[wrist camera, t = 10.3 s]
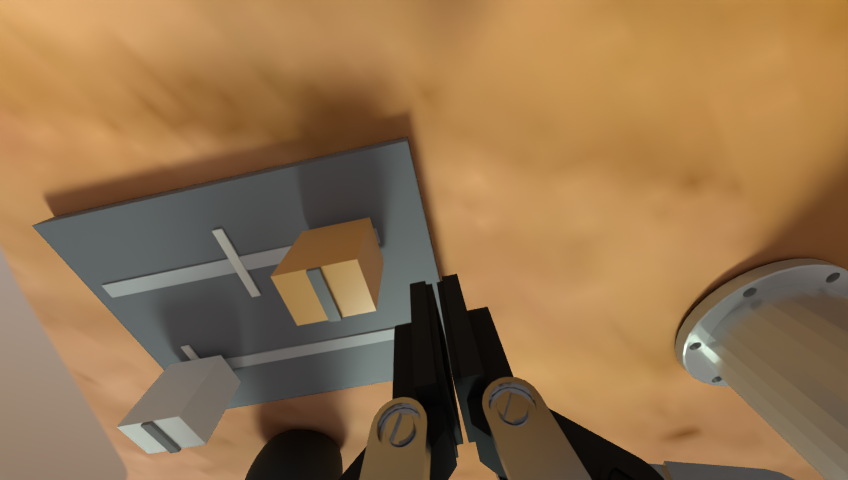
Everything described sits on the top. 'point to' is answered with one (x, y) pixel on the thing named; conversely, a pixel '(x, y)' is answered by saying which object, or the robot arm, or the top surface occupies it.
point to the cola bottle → (297, 458)
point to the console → (256, 269)
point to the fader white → (182, 406)
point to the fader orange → (331, 273)
